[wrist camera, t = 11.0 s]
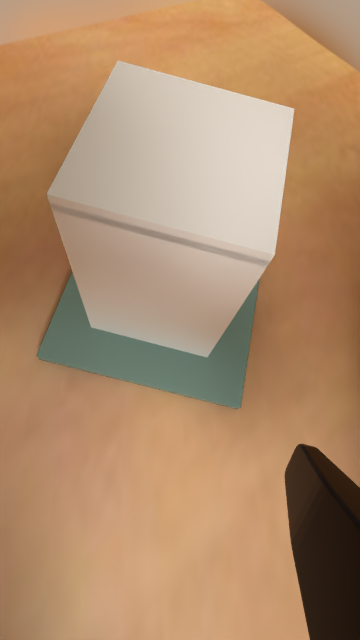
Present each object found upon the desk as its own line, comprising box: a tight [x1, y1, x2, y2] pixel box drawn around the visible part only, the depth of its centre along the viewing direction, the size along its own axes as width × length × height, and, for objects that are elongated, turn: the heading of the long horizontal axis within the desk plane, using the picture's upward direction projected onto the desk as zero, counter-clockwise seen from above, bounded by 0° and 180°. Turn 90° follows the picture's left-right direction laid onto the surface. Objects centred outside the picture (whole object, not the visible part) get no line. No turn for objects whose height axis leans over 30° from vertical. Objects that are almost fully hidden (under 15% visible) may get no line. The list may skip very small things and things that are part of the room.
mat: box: [36, 272, 259, 409], centre depth 18 cm, size 10×10×1 cm
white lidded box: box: [46, 61, 294, 357], centre depth 14 cm, size 6×6×9 cm
